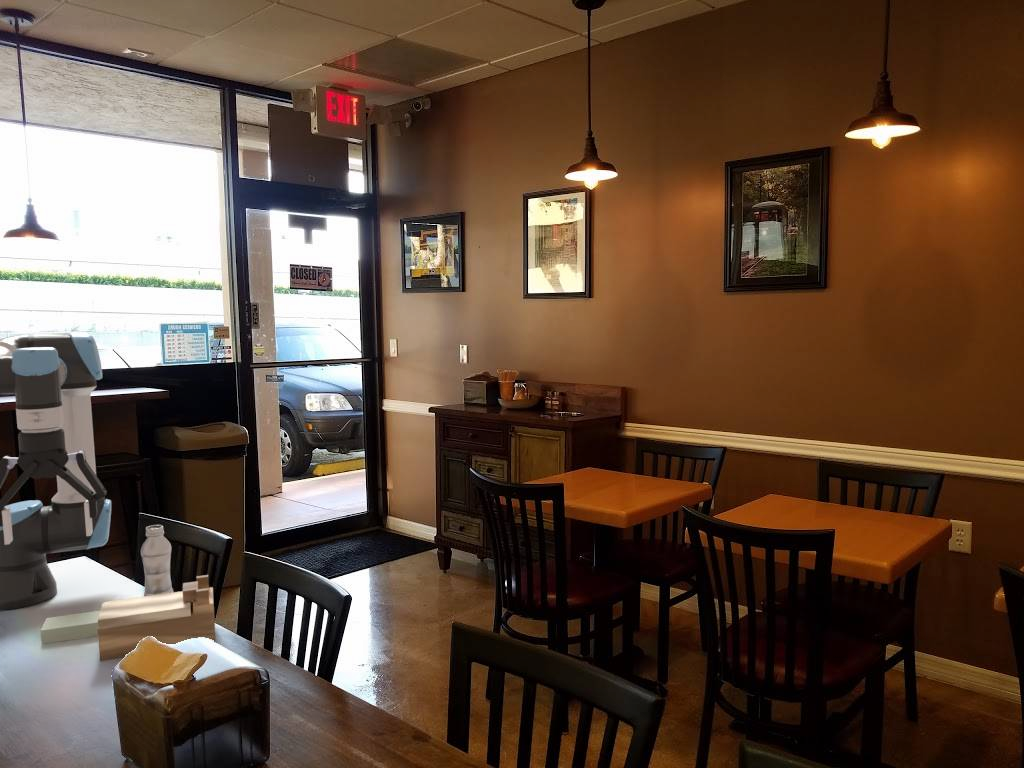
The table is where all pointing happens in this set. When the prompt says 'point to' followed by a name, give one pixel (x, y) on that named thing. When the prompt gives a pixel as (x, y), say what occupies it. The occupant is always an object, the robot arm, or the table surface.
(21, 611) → the table surface
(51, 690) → the table surface
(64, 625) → the block
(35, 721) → the table surface
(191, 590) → the block
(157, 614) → the lid
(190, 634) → the toolbox
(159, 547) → the plastic bottle
